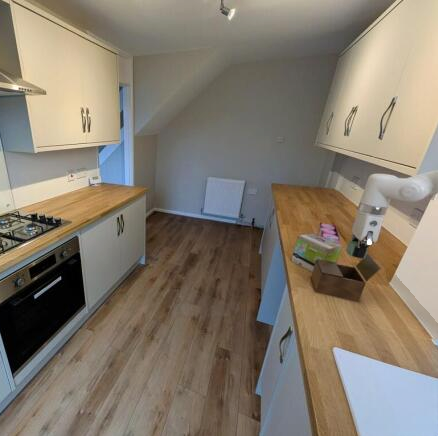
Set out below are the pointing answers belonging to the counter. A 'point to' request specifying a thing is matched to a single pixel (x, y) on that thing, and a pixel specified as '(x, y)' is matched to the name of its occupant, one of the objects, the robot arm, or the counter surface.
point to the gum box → (328, 232)
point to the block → (353, 248)
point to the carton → (337, 280)
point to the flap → (367, 267)
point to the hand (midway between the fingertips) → (355, 253)
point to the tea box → (314, 250)
